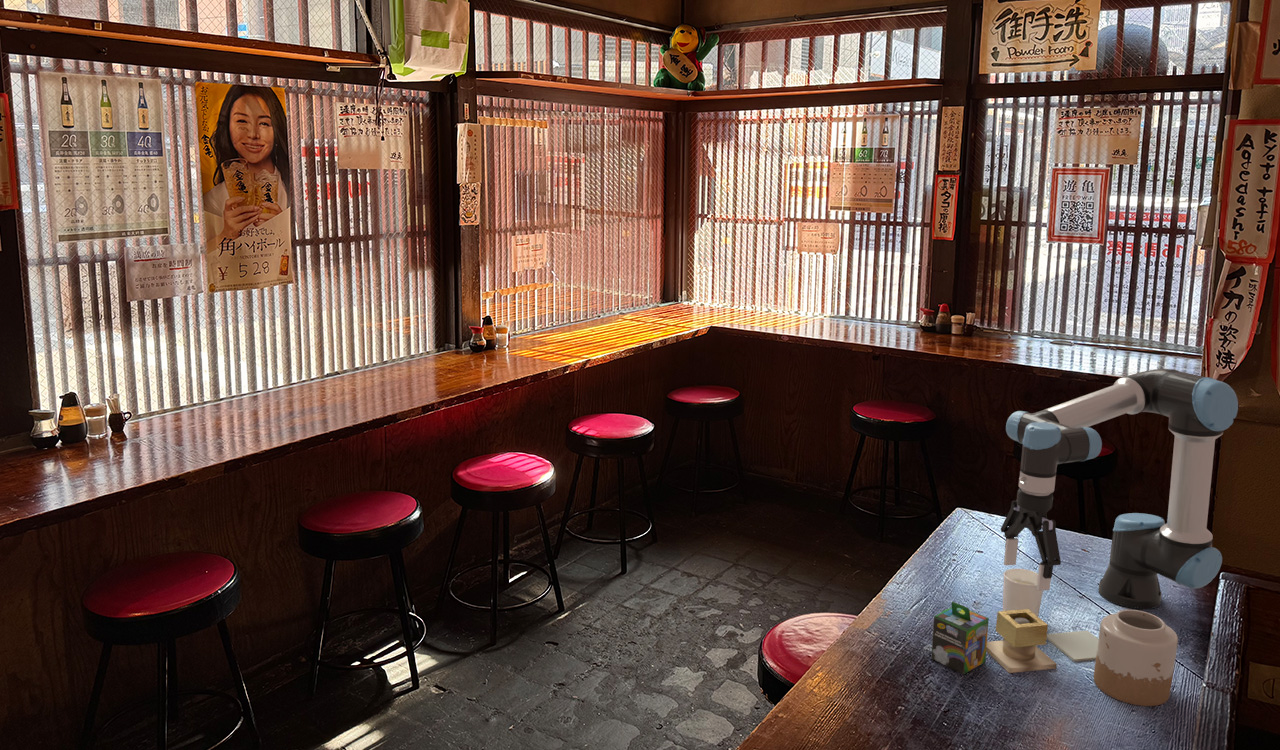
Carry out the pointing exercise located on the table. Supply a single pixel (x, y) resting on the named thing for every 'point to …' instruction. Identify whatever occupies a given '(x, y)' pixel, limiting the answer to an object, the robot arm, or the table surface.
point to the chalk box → (960, 638)
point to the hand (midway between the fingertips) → (1025, 576)
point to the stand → (1019, 655)
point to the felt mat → (1076, 644)
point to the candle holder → (1021, 591)
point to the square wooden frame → (1021, 628)
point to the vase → (1135, 658)
